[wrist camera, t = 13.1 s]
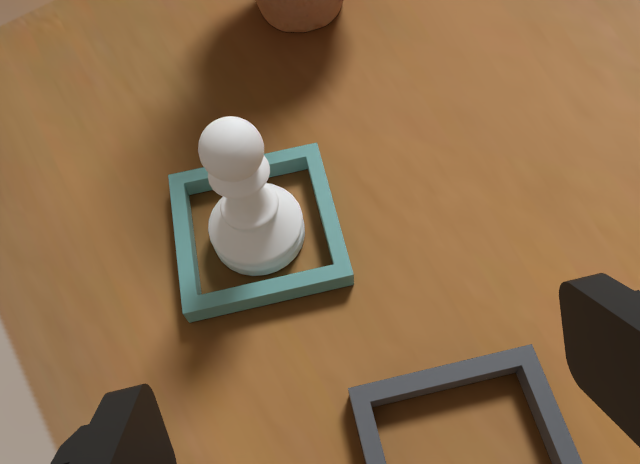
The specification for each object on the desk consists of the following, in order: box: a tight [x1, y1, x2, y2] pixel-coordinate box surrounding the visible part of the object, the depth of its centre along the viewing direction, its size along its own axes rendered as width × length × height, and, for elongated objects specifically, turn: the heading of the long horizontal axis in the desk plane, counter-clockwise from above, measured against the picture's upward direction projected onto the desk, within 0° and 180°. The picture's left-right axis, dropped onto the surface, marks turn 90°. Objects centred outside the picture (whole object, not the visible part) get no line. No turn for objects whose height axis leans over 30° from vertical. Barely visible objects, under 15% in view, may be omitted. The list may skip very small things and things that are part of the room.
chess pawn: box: [198, 116, 305, 276], centre depth 28 cm, size 5×5×9 cm
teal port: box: [168, 143, 354, 323], centre depth 31 cm, size 9×9×1 cm
